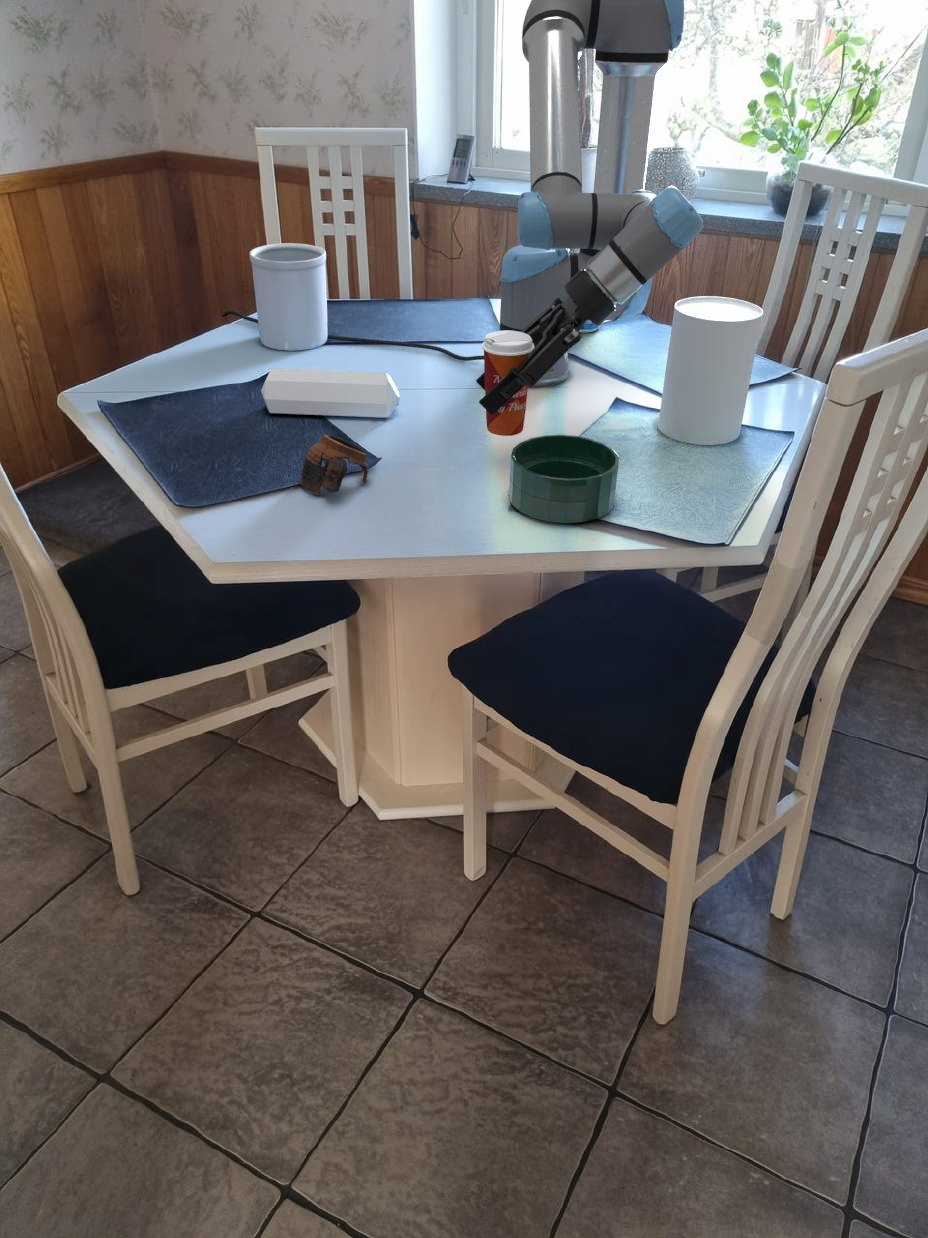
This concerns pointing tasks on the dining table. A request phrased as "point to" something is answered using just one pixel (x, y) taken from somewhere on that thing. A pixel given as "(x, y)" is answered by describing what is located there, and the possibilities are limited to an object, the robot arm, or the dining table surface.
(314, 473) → the leather tool belt
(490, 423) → the paper cup
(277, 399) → the crystal
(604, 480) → the green pet bowl
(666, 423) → the canister
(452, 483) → the dining table surface
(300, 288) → the utensil holder
